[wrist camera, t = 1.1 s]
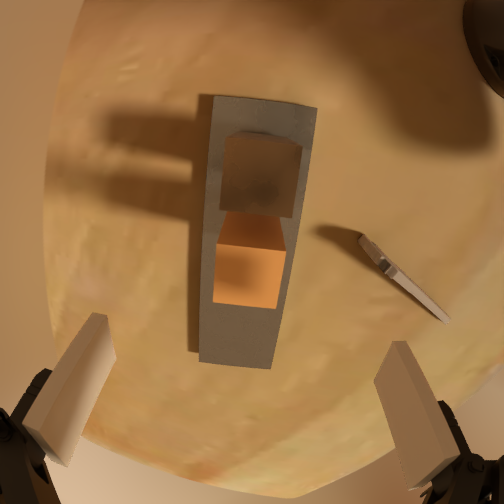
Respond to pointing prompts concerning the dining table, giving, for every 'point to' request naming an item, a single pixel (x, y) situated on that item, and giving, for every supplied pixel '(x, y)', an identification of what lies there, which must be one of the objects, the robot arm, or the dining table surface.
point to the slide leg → (249, 260)
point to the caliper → (400, 277)
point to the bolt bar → (254, 202)
